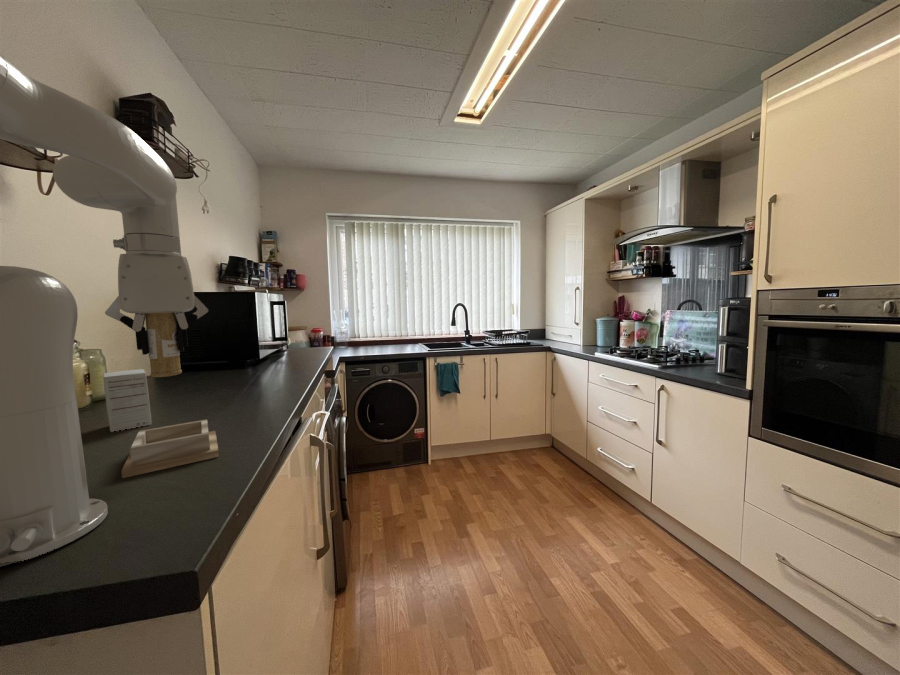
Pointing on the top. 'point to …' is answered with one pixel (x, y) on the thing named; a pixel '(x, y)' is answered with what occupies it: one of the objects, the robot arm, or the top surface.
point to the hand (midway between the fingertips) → (164, 351)
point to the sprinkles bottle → (163, 344)
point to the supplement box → (127, 399)
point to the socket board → (170, 447)
